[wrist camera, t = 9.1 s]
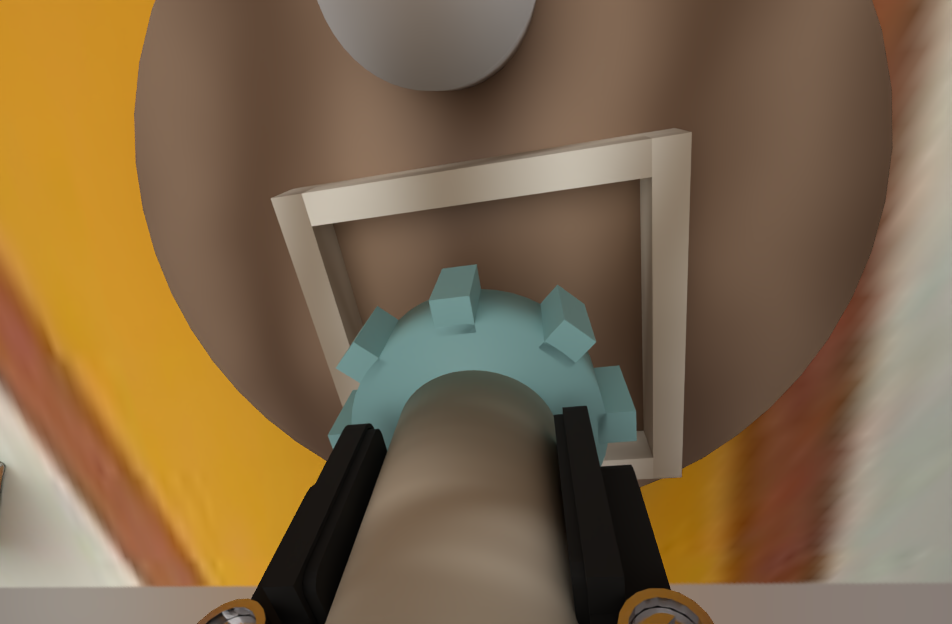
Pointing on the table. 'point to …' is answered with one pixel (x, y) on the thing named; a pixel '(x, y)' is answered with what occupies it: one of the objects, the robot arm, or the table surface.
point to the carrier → (519, 186)
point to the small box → (1, 472)
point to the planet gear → (471, 455)
